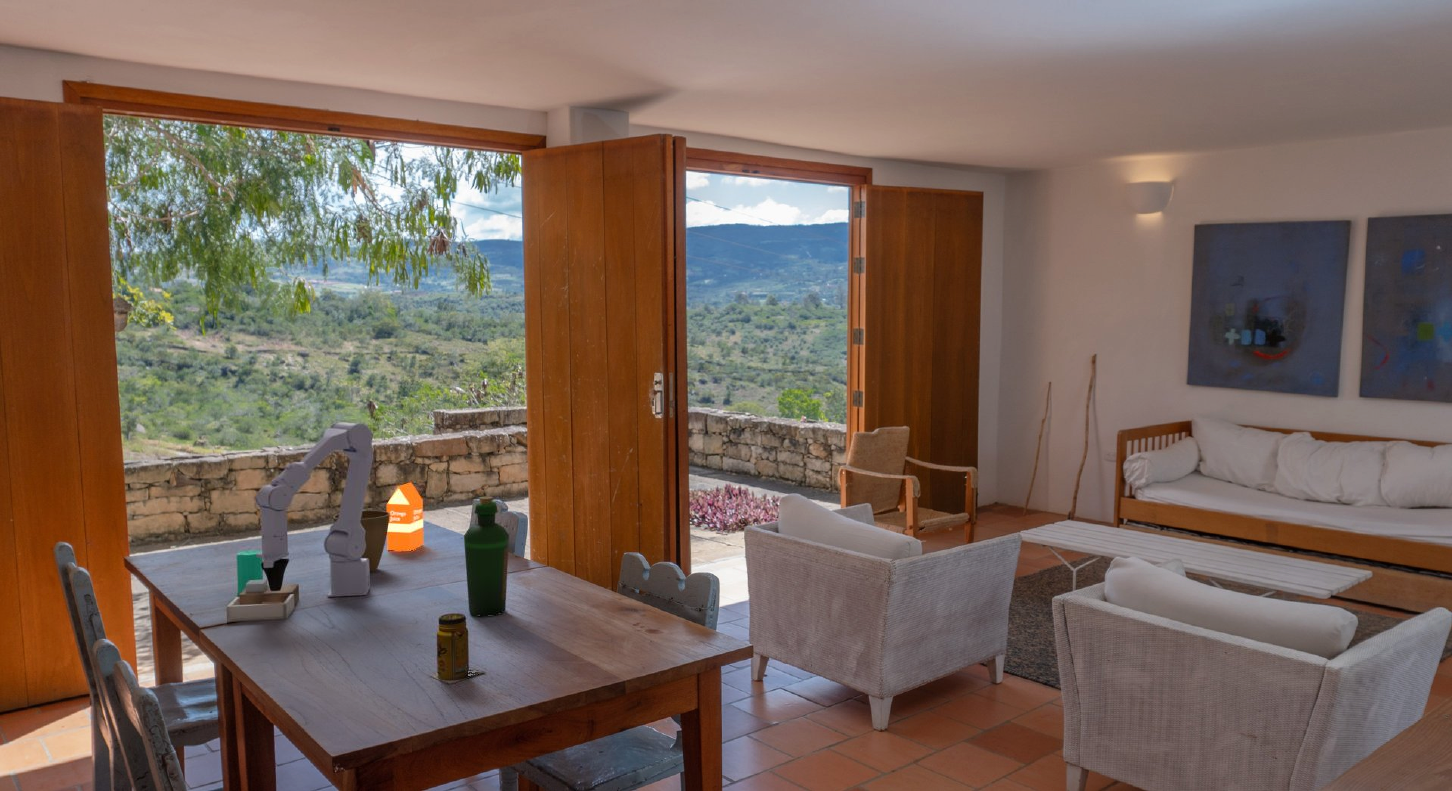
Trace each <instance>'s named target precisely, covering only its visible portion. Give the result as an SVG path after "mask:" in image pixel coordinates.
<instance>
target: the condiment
mask: <svg viewBox="0 0 1452 791" xmlns="http://www.w3.org/2000/svg"><path fill="white" fill-rule="evenodd" d="M466 620H467V617H466V615H465V614H464V613H458V612H457V613H454V612H453V613H447V614H442V615H441V616H439V617H438V626H437V628H438V630H437V631H436V665H437V667H436V668H437V672H436V673H433V674H429V675H428V676H429V677H431V678H433V679H436V680H439V681H441V682H444V683H448V684H454V683H456V682H460V681H464V680H467V679H469V678H471V677H475V676H478V675H477V674H479V675H481V674H484V673H486V671H485V670H483V671H484V672H475V673H472V672H469V673H468V671H473V670H475V669H476V668H475V669H473V670H471V669H470V670H469V668H473V667H472V666H469V665H470V664H469V663H470V661H469V659H470V658H469V657H470V656H469V655H470V654H469V629H468V628H467V621H466ZM476 671H482V670H481V669H477V670H476ZM470 673H471V674H473V676H472V675H471V676H468V674H470ZM474 674H475V675H474Z"/></svg>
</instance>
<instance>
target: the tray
mask: <svg viewBox="0 0 1452 791" xmlns="http://www.w3.org/2000/svg"><path fill="white" fill-rule="evenodd" d="M294 610H295V606H294V594H290V596H289V597H288V598H287V599H286V601H285V602H284V603H274V604H253V605H240V597H239V596H235V597H234V599H233V600H231V601H230V603H229V604H228V605H227V606H226V622H227V623H233V622H251V621H269V620H270V621H271V620H287V619H288V618H289V617H290V615H291V614H292V612H293V611H294Z"/></svg>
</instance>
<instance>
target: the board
mask: <svg viewBox="0 0 1452 791" xmlns="http://www.w3.org/2000/svg"><path fill="white" fill-rule="evenodd" d="M299 585H300V584H299V583H293V584H282V587H281V590H280V591H271V590H270V587H269V584H267V588H266V589H265V591H264V592H246V588H245V589H244V590H243V591H242V592H241V593H240V594H239V595H238V597H240V605H253V604H262V602H275V601H281V602H283V603H284V602H285V601H286V599H287V598H288V597H289V596H290V594H294V607H295V606H296V604H298V601H299V600H300V589H299V588H300V586H299Z"/></svg>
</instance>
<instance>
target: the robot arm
mask: <svg viewBox="0 0 1452 791" xmlns="http://www.w3.org/2000/svg"><path fill="white" fill-rule="evenodd" d="M373 436H374V434H373V432H372V430H371V429H370V428H369V426H368V425H366V424H365V423H361V422H358V423H353V422H344V421H341V420H340V421H339V420H338V421H335V422H333V423H332V424H331V425H330V427H328V428H326V430H325V431H324V433H323V436H322V437H321V438H320V439H319V440H318V442H317V443H316V444H315V445H314V446H313V447H312V448H311V449H310V451H308V452H307V453H306V455H305V456H303V458H302V459H301V460H300V461H298V462H296V461H295V462H292V463H287V464H286V465H285V466H284V470H283V471H282V472H280V473H279V474H278V476H277V477H276V478H273V479H272V480H271V481H270V482H271V483H270V484H266V485H263V486H262V487H260V488H259V490H258V492H257V495H256V497H254V501H255V504H256V505H257V507H258V508H259V513H260V524H261V525H260V527H261V528H260V529H261V530H260V531H261V532H260V533H261V551H262V552H261V553H257V557H261V558H262V560H263V562H262V563H261V567H262V569H263V573H264V574H265V577H266V579H267V584H268V585H269V587H270V590H271V591H280V590H281V587H282V585H283V582H284V576H285V572H286V568H287V567H288V564H289V562H290V559H289V558H286V557H288V556H289V554H290V552H289V548H288V547H289V543H288V510H287V509H288V507H290V506H291V505H292V501H293V498H294V495H295V494H296V493H297V492H298V491H299V490H300V489H301V488H303V486H304V485H305V484H306V483H308V481H309V480H310V479H311V475H312V474H311V473H312V472H311V471H312V470H314V469H315V468H316V467H317V466H319V465H320V464H321V463H322V462H323V461H324V460H326V459H327V457H329V456H330V455H331V454H333V452H335V451H342V452H343V453H344V454H345V456H346V457H347V458H348V459H349V464H348V468H347V472H346V478H345V483H344V488H343V493H342V497H341V504H340V508H339V513H338V514H339V517H338V520H337V521H336V522H335V523H334V522H333V523H332V524H331V525H330V528H329V531H328V533H327V535H326V537H325V538H324V540H323V541H324V542H323V547H324V551H325V552H326V553H327V554H328V558H329V560H330V561H329V562H330V563H329V565H330V568H329V569H330V572H329V573H330V590H329V592H328V593H327V595H326V597H327V598H331V597H332V598H333V597H352V596H366V595H367V594H368V592H369V590H370V588H371V580H370V576H371V574H370V573H371V572H369V559H368V558H361V556H362V555H363V554H364V552H365V549H366V542H365V533H366V531H365V530H364V528H363V527H362V525H361V523H360V521H361V516H362V511H364V505H365V500H366V495H367V489H368V487H369V486H368V485H369V481H370V476H371V472H372V471H371V470H372V467H373V466H372V465H373V461H374V450H373V446H372V445H373V444H372V442H373V438H374V437H373ZM346 532H347V533H346Z"/></svg>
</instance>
